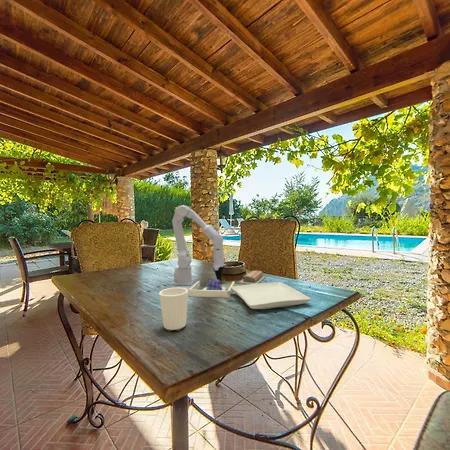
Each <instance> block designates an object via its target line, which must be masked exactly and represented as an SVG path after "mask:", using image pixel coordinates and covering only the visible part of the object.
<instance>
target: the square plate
mask: <svg viewBox="0 0 450 450" xmlns="http://www.w3.org/2000/svg"><path fill="white" fill-rule="evenodd" d="M231 288H232V289H233V292H234V293H235V294H236V295H237V296H239V298H241V299H242V300H243V301H244V302H245V303H246V305H247V306H248V307H249V308H250V309H253V310H267V309H275V308H283V307H284V308H285V307H293V306H296V305H302V304H306V303H309V302H310V301H311V300H312V298H311V297H309V296H307V295H306V294H303V293H302V292H300V291H298V290H296V289H295V288H293V287H292V286H289V285H287V284H285V283H283V282H282V281H276V282H275V281H274V282H259V283H258V284H248V285H246V284H240V285H235V286H232V287H231Z"/></svg>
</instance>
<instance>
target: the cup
mask: <svg viewBox="0 0 450 450" xmlns="http://www.w3.org/2000/svg"><path fill="white" fill-rule="evenodd" d="M188 290H189V289H187V288H185V287H177V286H176V287H169V288H165V289H162V290H160V291H159V293H158V297H159V303H160V308H161V317H162V324H163V328H164V329H165V330H167V332H169V333H170V332H173V331H177V332H180V331H181V330H182V329H183V328H186V326H187V313H188V299H189V298H188V297H189V296H188Z"/></svg>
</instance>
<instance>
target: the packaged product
mask: <svg viewBox="0 0 450 450" xmlns="http://www.w3.org/2000/svg"><path fill="white" fill-rule="evenodd" d="M264 279H266V276H265V275H263V271H261V270H251V271H250V272H248V273H247V274H245V275H243V277H242V279H241V280H239V281H238V284H239V285H248V284H258V283H262V281H263V280H264Z"/></svg>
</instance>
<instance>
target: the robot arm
mask: <svg viewBox="0 0 450 450" xmlns="http://www.w3.org/2000/svg"><path fill="white" fill-rule="evenodd" d="M186 218H188V219H192V220H193V221H194V222H195V223H196V224H197V225H198V226H199V227H200V228H201V229H202V233H203V234H204V235H205V236H206V237H207V238H208V239H209V240H210V241H211V242H212V244H213V248H212V252H213V253H212V254H213V272H214V274H215V279H218V280H220V282H221V281H222V277H223V272H224V270H225V267H226V266H227V264H226V263H224V262H225V259H224V255H225V254H224V244H223V243H224V237H223V236H222V234H220V232H218V231H217V230H216V229H215V228H214V225H211V224H207V223H206V222H205V221H204V220H203V219H202V218H201V217H200V216H199V214H198V213H196V212H195V211H194V209H192V208H190V206H188V205H184V204H183V205H179V206H178V207H177V208H176V209H175V211H174V214H173V217H172V220H171V223H172V228H173V232H174V238H175V242H176V243H175V244H176V247H177V248H176V249H177V258H178V259H177V266H178V267H176V268H174V271H173V275H174V276H173V280H174V281H173V285H175V286H176V285H177V286H191V285H193V283H194V282H195V280H193V279H192V277H193V276H192V275H193V274H192V265H191V263H192V257H191V256H190V255H189V254H190V253H189V251H188V250H187V249H188V248H187V244H186V239H185V234H184V229H183V228H184V227H183V222H184V221H185V219H186Z"/></svg>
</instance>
